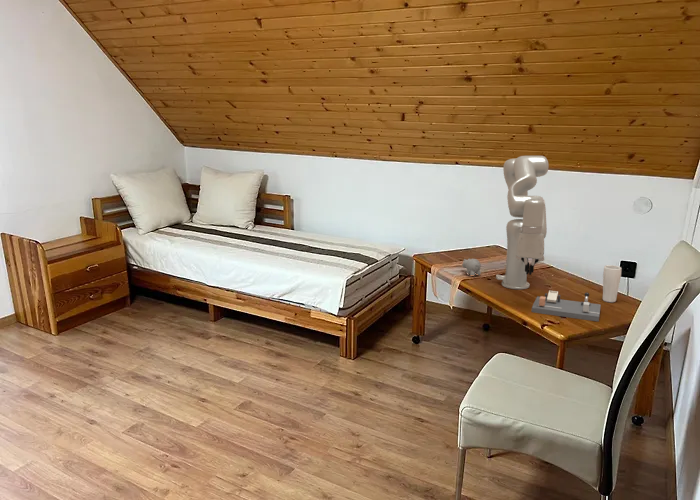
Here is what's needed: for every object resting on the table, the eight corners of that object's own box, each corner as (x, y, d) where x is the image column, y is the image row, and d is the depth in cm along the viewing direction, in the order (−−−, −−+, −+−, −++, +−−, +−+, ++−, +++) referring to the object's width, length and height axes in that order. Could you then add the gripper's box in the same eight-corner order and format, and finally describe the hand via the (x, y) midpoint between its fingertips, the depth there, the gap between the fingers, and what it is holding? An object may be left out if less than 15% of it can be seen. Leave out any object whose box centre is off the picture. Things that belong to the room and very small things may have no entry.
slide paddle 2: (582, 311, 213) (583, 304, 212) (583, 308, 215) (584, 301, 215) (588, 312, 212) (589, 304, 211) (588, 309, 215) (589, 302, 214)
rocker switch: (546, 301, 224) (546, 299, 224) (549, 292, 230) (549, 290, 229) (555, 302, 223) (556, 300, 222) (558, 293, 228) (558, 291, 228)
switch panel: (531, 312, 220) (532, 300, 219) (536, 300, 233) (537, 290, 232) (598, 321, 209) (599, 310, 208) (600, 309, 222) (601, 298, 221)
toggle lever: (583, 302, 220) (584, 291, 221) (583, 303, 222) (584, 292, 223) (588, 303, 220) (589, 292, 220) (588, 304, 221) (589, 292, 222)
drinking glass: (603, 303, 229) (606, 269, 225) (598, 297, 235) (602, 264, 232) (620, 303, 228) (624, 269, 224) (615, 298, 234) (618, 265, 231)
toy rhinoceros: (469, 270, 279) (470, 254, 277) (483, 276, 268) (484, 259, 266) (457, 271, 277) (458, 255, 274) (470, 278, 266) (471, 261, 264)
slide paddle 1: (539, 305, 220) (539, 298, 219) (540, 303, 223) (540, 296, 222) (544, 306, 219) (544, 299, 218) (545, 303, 222) (545, 296, 221)
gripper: (511, 230, 216) (508, 274, 220) (550, 233, 209) (547, 278, 214) (514, 226, 222) (511, 269, 227) (553, 229, 216) (549, 273, 220)
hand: (529, 273), depth 220 cm, fingers closed
